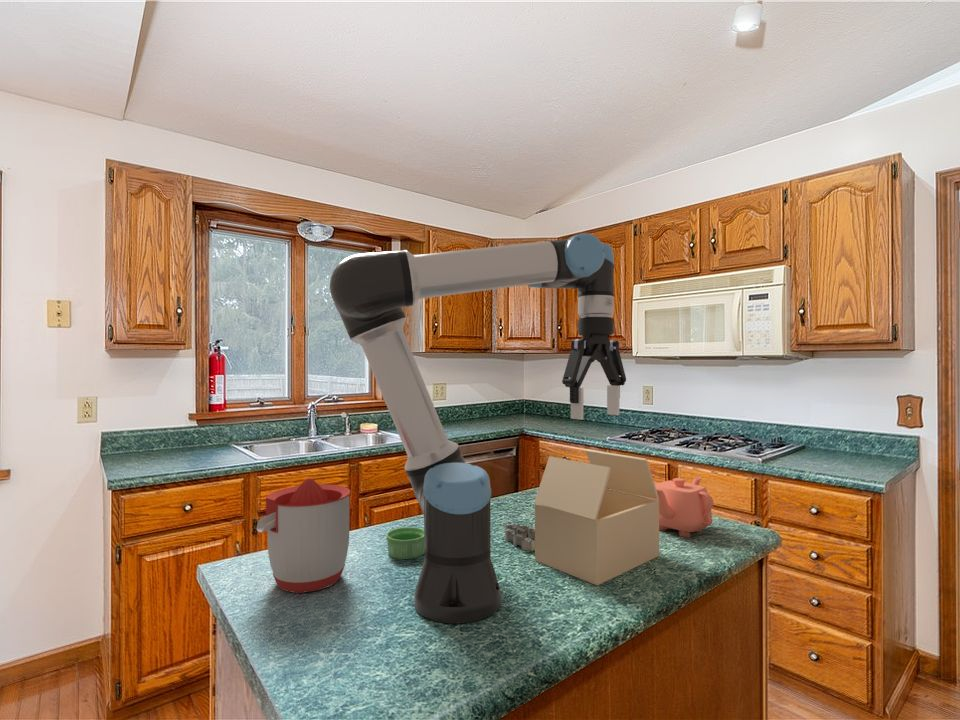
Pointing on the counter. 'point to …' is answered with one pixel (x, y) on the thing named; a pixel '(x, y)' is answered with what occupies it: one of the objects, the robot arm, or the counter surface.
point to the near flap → (573, 487)
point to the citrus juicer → (307, 535)
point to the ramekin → (405, 542)
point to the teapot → (683, 506)
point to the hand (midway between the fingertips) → (595, 416)
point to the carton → (599, 537)
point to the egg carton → (520, 535)
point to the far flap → (626, 473)
